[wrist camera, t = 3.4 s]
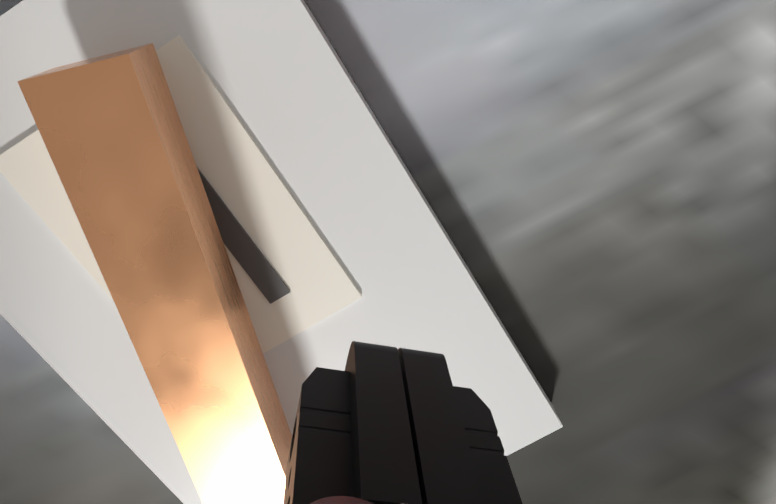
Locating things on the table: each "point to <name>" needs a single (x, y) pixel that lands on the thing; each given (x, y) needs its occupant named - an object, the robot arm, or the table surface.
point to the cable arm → (165, 267)
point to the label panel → (246, 217)
